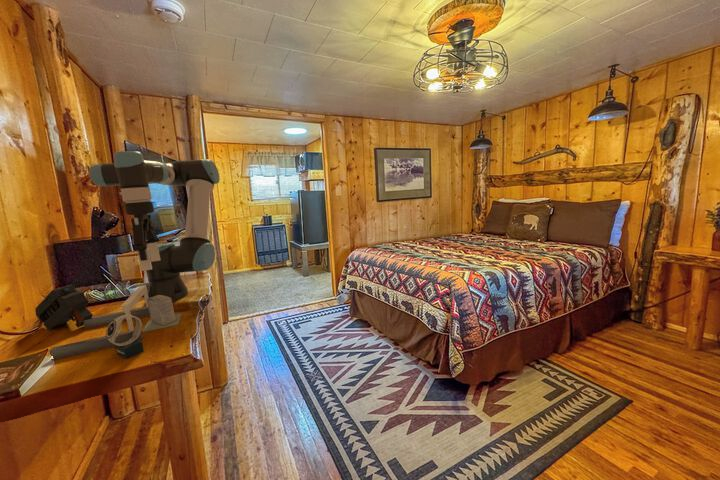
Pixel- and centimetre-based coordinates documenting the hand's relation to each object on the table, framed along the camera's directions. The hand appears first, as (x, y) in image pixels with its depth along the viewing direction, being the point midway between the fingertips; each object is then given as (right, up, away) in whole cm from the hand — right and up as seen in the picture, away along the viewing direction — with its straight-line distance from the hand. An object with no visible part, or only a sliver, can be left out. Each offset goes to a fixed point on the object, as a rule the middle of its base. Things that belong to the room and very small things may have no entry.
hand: (151, 265), depth 100 cm
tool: (-34, -22, +6) cm, 42 cm away
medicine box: (+2, -20, +4) cm, 20 cm away
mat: (+2, -20, +3) cm, 21 cm away
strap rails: (-12, -22, -1) cm, 25 cm away
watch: (+5, -24, -16) cm, 29 cm away
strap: (-5, -18, +2) cm, 18 cm away
